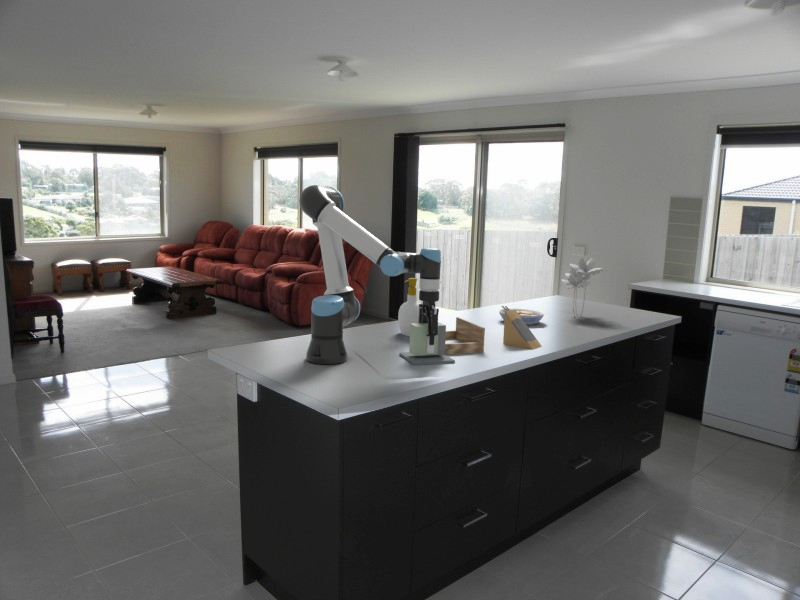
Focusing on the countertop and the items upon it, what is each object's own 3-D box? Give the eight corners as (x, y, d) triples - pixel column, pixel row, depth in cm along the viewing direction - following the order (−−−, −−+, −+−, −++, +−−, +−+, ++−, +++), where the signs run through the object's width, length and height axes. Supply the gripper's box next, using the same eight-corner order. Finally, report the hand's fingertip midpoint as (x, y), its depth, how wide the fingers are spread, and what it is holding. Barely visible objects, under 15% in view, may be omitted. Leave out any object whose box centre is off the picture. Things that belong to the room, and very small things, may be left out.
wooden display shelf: (442, 354, 233) (443, 329, 232) (418, 341, 256) (419, 318, 255) (483, 352, 239) (484, 327, 238) (456, 339, 262) (457, 317, 261)
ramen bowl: (548, 331, 288) (550, 315, 287) (501, 330, 289) (502, 313, 287) (538, 322, 313) (539, 307, 312) (494, 321, 313) (495, 305, 312)
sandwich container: (534, 352, 243) (537, 316, 241) (502, 345, 254) (504, 311, 251) (544, 349, 250) (547, 313, 248) (513, 343, 260) (515, 309, 258)
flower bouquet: (547, 313, 323) (554, 303, 303) (566, 258, 330) (575, 245, 310) (578, 324, 321) (588, 315, 300) (597, 268, 328) (608, 256, 308)
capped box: (414, 355, 220) (416, 326, 218) (409, 352, 225) (410, 323, 224) (444, 354, 224) (446, 325, 222) (438, 350, 229) (439, 322, 228)
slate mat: (414, 365, 215) (414, 362, 215) (399, 355, 230) (399, 352, 229) (454, 362, 220) (454, 360, 220) (437, 353, 235) (437, 350, 235)
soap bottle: (391, 334, 268) (393, 277, 264) (405, 332, 274) (407, 276, 270) (414, 340, 258) (416, 280, 254) (428, 337, 264) (431, 279, 260)
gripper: (449, 293, 214) (446, 356, 217) (428, 286, 231) (426, 345, 235) (429, 293, 211) (427, 357, 214) (410, 286, 229) (408, 345, 232)
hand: (426, 350), depth 224 cm, fingers closed on capped box, 6 cm apart
